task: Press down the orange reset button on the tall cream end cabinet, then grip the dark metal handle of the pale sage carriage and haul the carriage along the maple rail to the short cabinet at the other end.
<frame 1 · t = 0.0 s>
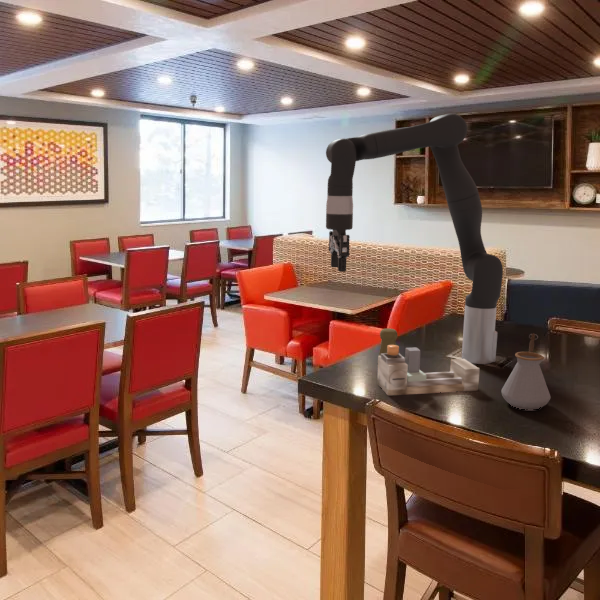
hand: (338, 269, 171), 29 cm above the table, tool pointing down, fingers open, 8 cm apart
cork: (387, 365, 180), on the table
coffee pot: (526, 399, 153), on the table
rail: (426, 387, 161), on the table
reset button: (393, 350, 157), point 11 cm above the table, slide at 0.0 cm
carriage: (412, 362, 158), point 7 cm above the table, slide at 4.5 cm
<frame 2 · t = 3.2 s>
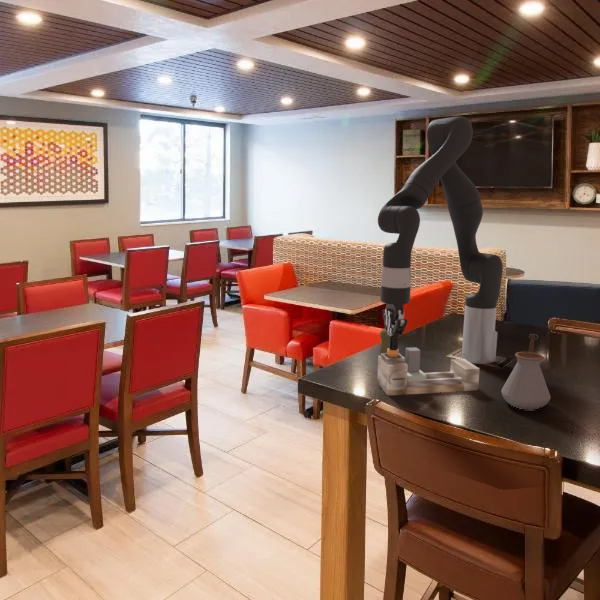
hand: (392, 349, 157), 11 cm above the table, tool pointing down, fingers closed
reset button: (392, 352, 157), point 10 cm above the table, slide at 0.8 cm, touching gripper
everything else where it was.
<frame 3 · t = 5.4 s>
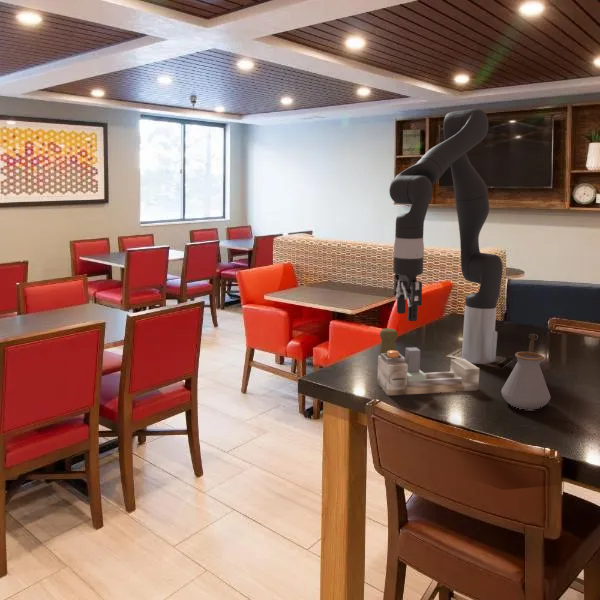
hand: (406, 317, 156), 19 cm above the table, tool pointing down, fingers open, 8 cm apart
reset button: (392, 355, 157), point 9 cm above the table, slide at 1.5 cm
everything else where it was.
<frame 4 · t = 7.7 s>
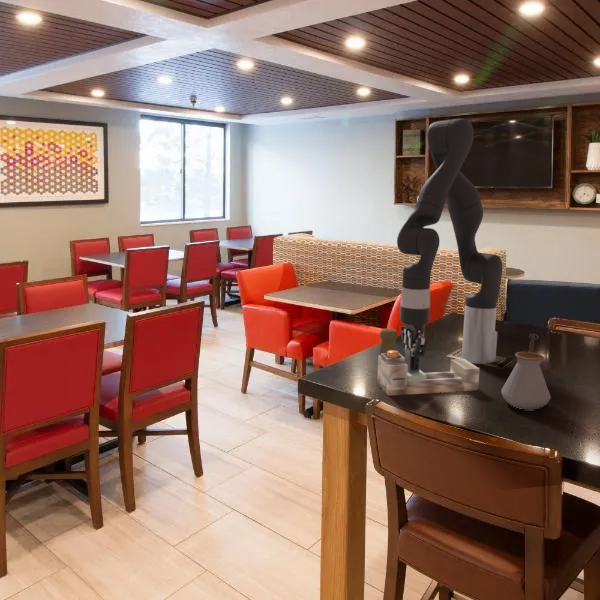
hand: (412, 367, 159), 6 cm above the table, tool pointing down, fingers closed on carriage, 3 cm apart
carriage: (412, 362, 158), point 7 cm above the table, slide at 4.5 cm, touching gripper
everything else where it was.
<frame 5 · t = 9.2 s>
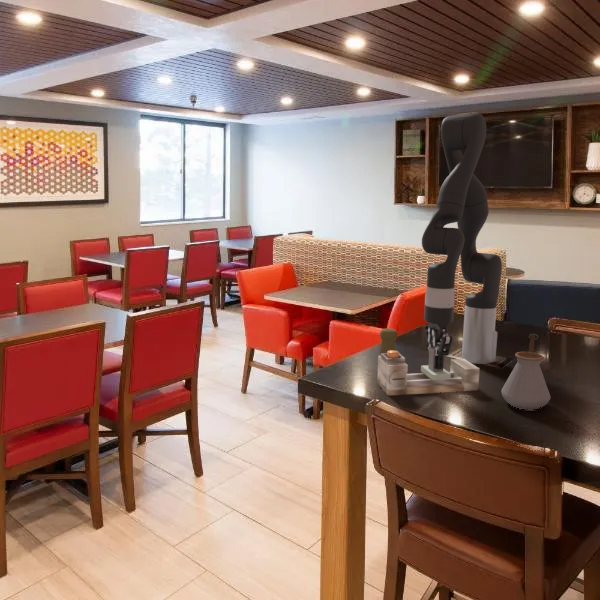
hand: (435, 366, 160), 6 cm above the table, tool pointing down, fingers closed on carriage, 3 cm apart
carriage: (436, 361, 160), point 7 cm above the table, slide at -2.2 cm, touching gripper
everything else where it was.
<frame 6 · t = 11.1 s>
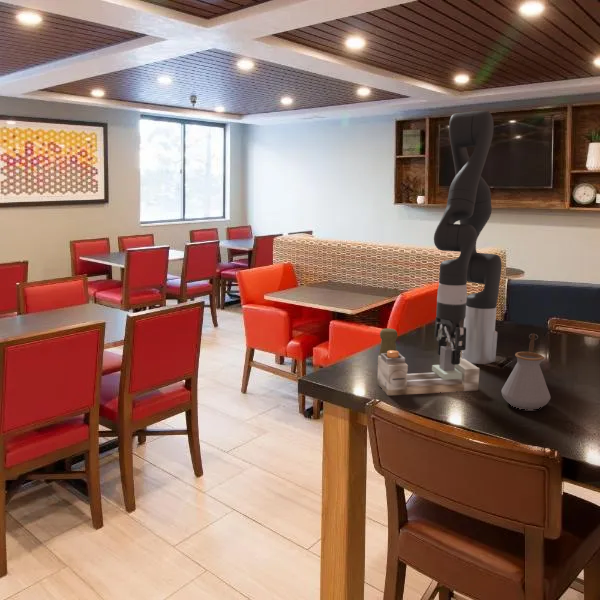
hand: (448, 359, 160), 7 cm above the table, tool pointing down, fingers open, 8 cm apart
carriage: (447, 361, 160), point 7 cm above the table, slide at -5.4 cm
everything else where it was.
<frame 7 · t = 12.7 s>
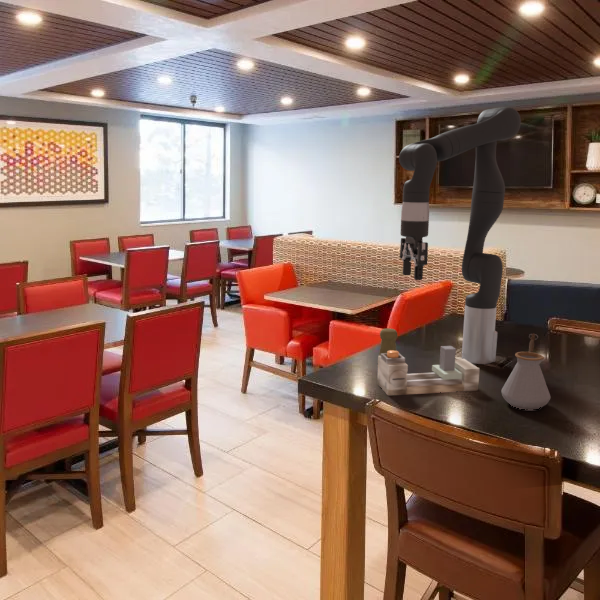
hand: (412, 277, 167), 28 cm above the table, tool pointing down, fingers open, 8 cm apart
nothing on the table moved.
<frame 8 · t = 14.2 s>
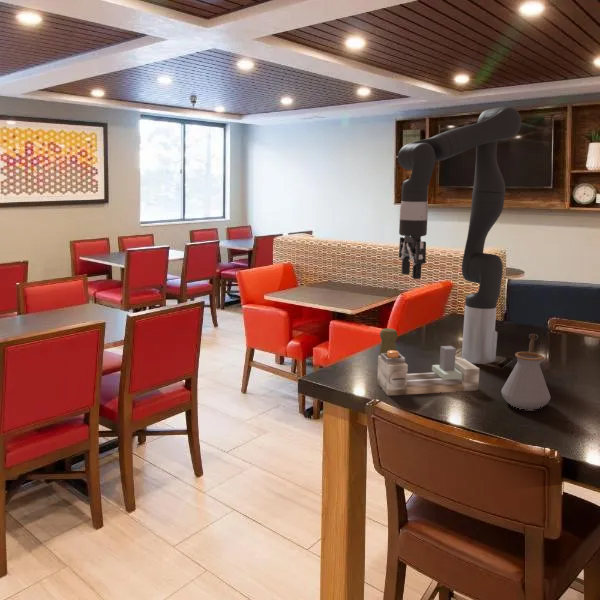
hand: (410, 276, 167), 28 cm above the table, tool pointing down, fingers open, 8 cm apart
nothing on the table moved.
at the end: reset button slide at 1.5 cm; carriage slide at -5.4 cm; the gripper is holding nothing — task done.
